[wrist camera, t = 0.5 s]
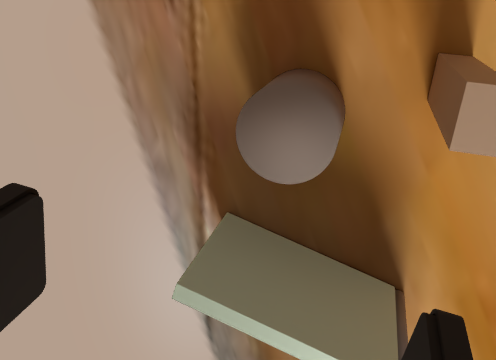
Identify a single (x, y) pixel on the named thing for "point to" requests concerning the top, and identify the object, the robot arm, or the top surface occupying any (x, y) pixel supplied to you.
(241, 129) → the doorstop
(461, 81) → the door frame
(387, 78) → the top surface
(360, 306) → the door
